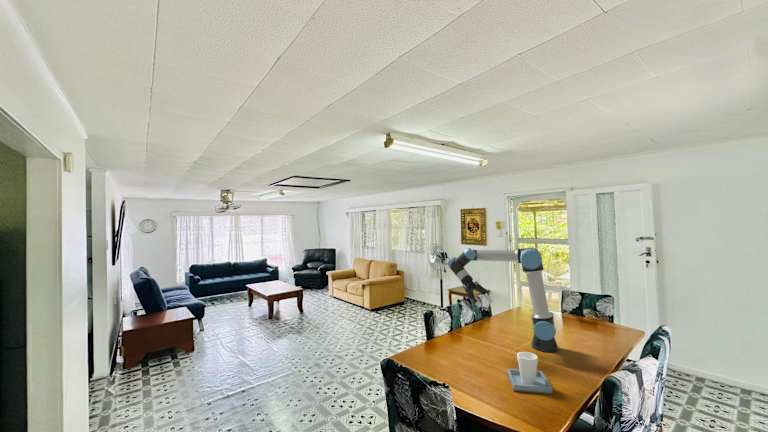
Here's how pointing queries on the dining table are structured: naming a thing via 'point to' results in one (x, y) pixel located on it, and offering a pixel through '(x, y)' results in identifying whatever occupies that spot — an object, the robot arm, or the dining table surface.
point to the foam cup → (527, 367)
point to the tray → (538, 387)
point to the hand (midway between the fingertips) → (486, 304)
